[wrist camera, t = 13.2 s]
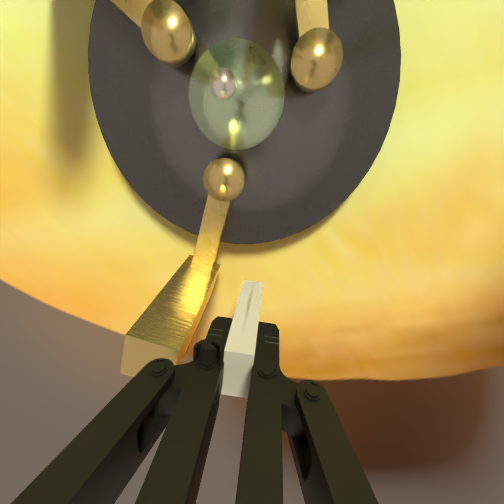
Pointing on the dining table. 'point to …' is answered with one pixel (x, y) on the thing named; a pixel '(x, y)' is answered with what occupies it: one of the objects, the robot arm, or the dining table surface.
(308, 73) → the tan l-shaped bracket
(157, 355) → the ball-tipped golden bracket
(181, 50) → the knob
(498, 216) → the dining table surface
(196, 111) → the levelling plate
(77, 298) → the dining table surface
